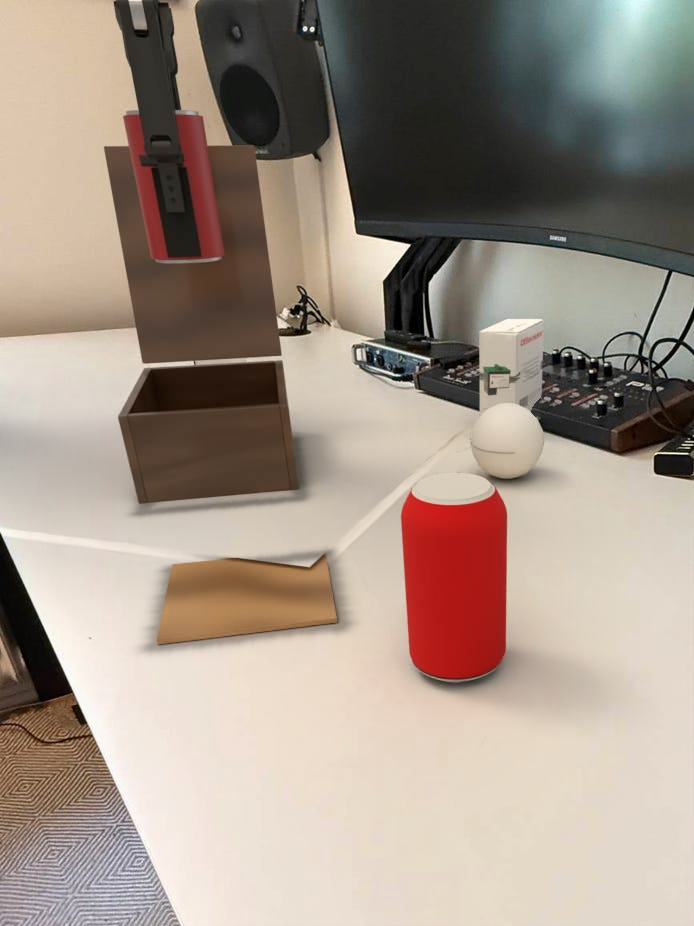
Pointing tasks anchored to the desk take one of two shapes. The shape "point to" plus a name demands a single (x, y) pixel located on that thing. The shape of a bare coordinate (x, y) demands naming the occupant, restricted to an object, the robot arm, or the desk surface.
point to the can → (199, 184)
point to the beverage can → (455, 576)
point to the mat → (244, 598)
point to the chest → (209, 431)
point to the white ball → (507, 440)
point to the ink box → (511, 363)
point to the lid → (201, 270)
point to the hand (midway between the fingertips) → (187, 252)
